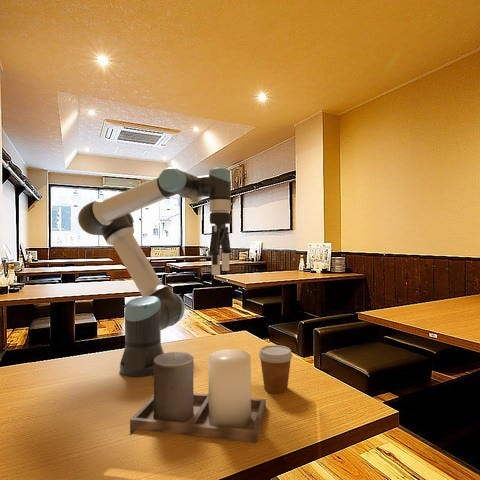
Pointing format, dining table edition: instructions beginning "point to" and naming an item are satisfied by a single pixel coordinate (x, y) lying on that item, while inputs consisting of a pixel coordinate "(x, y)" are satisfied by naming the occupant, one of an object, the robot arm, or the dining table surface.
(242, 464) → the dining table surface
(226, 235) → the robot arm
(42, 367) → the dining table surface
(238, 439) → the candle tray
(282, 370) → the disposable coffee cup
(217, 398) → the ivory candle
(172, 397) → the pillar candle
